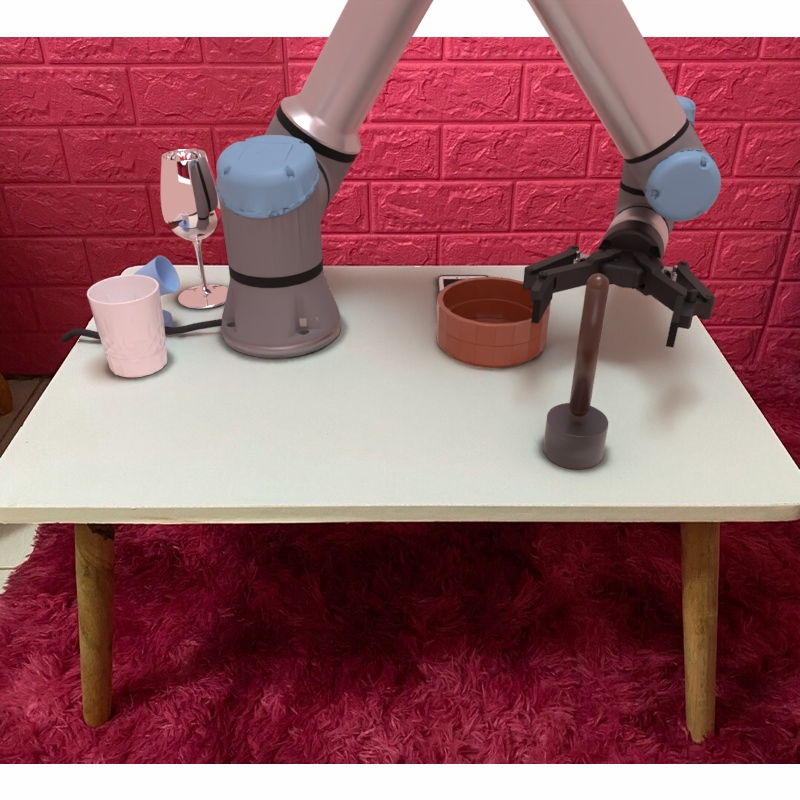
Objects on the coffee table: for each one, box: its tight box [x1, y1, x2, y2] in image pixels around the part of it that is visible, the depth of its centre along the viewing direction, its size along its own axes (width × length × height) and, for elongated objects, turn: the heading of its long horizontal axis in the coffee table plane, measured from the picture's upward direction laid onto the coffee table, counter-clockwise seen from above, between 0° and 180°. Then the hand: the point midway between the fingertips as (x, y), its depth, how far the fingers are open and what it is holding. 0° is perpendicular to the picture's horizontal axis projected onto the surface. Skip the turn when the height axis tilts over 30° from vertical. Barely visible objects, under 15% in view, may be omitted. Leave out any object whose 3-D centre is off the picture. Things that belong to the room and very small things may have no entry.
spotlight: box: [132, 255, 181, 335], centre depth 99 cm, size 5×10×7 cm
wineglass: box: [159, 148, 228, 310], centre depth 104 cm, size 8×8×20 cm
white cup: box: [86, 274, 168, 378], centre depth 91 cm, size 8×8×10 cm
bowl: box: [435, 276, 552, 369], centre depth 96 cm, size 14×14×6 cm
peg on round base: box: [542, 273, 610, 470], centre depth 73 cm, size 6×6×20 cm
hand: (602, 323), depth 78 cm, fingers open, 13 cm apart
